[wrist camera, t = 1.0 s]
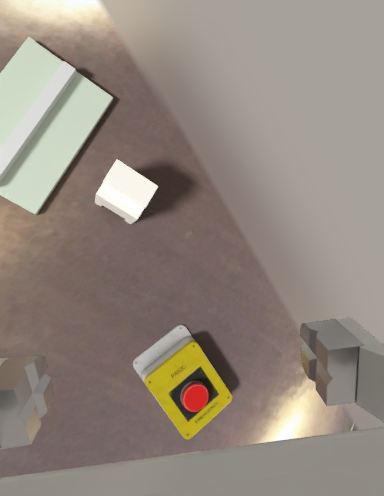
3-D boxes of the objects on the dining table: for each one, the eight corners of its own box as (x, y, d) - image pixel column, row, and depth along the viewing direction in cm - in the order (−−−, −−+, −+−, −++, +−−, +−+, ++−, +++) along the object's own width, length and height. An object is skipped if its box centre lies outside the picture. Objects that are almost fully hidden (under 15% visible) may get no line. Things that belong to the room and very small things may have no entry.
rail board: (36, 215, 39) (33, 212, 37) (-61, 161, 36) (-71, 155, 33) (112, 101, 42) (113, 92, 40) (29, 42, 39) (26, 29, 37)
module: (130, 224, 43) (139, 218, 35) (94, 202, 41) (96, 191, 34) (146, 196, 44) (159, 184, 36) (112, 174, 42) (117, 157, 35)
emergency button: (194, 456, 41) (133, 372, 39) (184, 438, 45) (129, 361, 43) (244, 409, 44) (190, 328, 41) (230, 396, 48) (181, 321, 46)
